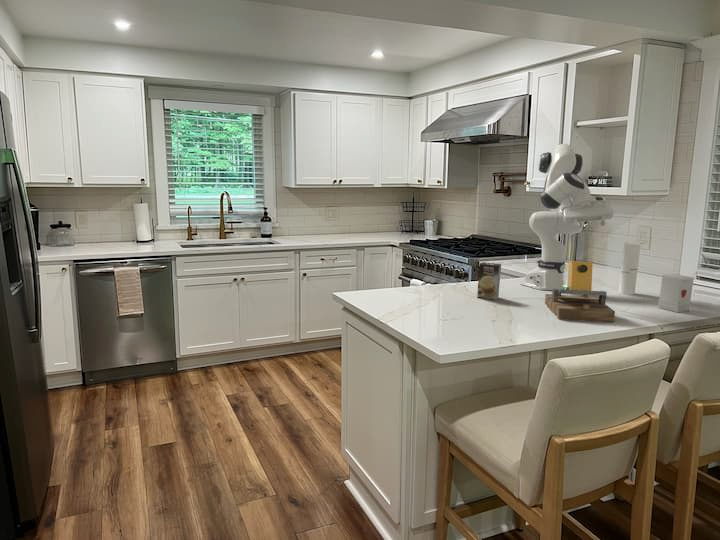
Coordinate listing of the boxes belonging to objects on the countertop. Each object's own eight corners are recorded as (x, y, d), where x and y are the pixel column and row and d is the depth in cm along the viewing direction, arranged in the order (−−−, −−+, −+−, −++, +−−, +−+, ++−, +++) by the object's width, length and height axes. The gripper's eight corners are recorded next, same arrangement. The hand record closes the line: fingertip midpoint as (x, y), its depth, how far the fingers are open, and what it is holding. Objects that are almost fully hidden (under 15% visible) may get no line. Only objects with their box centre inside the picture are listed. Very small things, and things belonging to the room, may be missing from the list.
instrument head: (553, 292, 233) (555, 262, 233) (592, 294, 231) (593, 263, 231) (564, 293, 215) (566, 259, 215) (606, 295, 213) (607, 261, 213)
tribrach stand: (544, 303, 238) (546, 283, 236) (593, 306, 235) (596, 285, 234) (558, 319, 213) (560, 296, 211) (613, 322, 210) (616, 298, 208)
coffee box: (476, 297, 246) (478, 263, 244) (479, 295, 252) (481, 261, 249) (496, 300, 243) (498, 265, 240) (499, 297, 248) (501, 263, 246)
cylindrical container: (636, 295, 261) (642, 244, 257) (620, 294, 262) (626, 244, 258) (632, 292, 268) (638, 242, 264) (616, 291, 269) (622, 242, 265)
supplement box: (677, 312, 228) (681, 278, 226) (657, 307, 236) (661, 274, 234) (690, 310, 233) (694, 277, 230) (670, 306, 240) (674, 273, 238)
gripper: (560, 202, 238) (567, 222, 228) (608, 197, 234) (617, 217, 225) (559, 213, 242) (565, 233, 233) (607, 208, 239) (615, 228, 229)
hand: (591, 225), depth 229 cm, fingers open, 8 cm apart
